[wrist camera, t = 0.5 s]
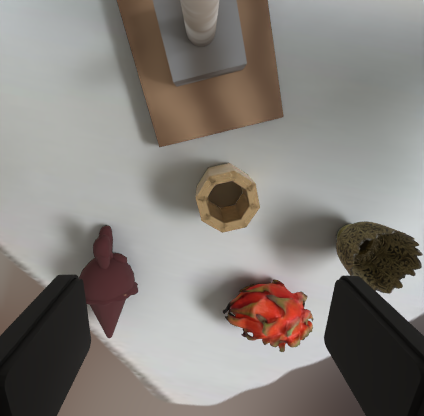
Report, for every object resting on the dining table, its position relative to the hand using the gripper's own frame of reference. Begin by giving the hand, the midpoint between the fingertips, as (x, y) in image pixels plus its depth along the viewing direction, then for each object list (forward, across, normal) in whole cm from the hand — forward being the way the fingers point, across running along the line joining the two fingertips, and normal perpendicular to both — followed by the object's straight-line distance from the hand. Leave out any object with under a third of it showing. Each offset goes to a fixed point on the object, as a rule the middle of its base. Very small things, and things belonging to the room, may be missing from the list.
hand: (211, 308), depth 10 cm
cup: (+23, -20, +7) cm, 31 cm away
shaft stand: (+23, 0, -15) cm, 28 cm away
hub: (+24, -3, +1) cm, 24 cm away
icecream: (+24, +12, +13) cm, 30 cm away
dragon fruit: (+24, -9, +17) cm, 31 cm away
